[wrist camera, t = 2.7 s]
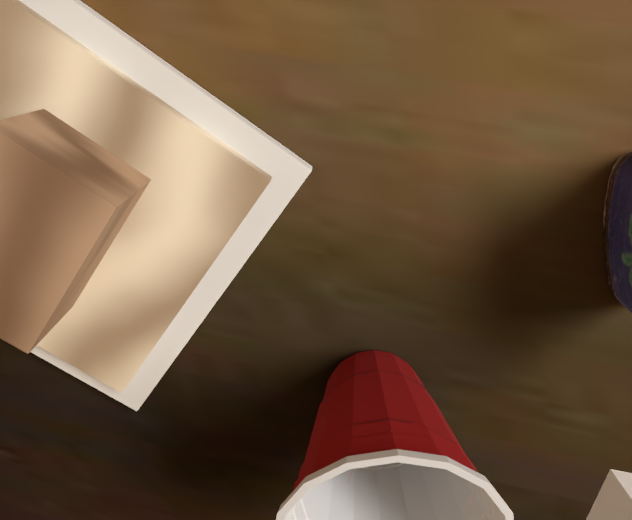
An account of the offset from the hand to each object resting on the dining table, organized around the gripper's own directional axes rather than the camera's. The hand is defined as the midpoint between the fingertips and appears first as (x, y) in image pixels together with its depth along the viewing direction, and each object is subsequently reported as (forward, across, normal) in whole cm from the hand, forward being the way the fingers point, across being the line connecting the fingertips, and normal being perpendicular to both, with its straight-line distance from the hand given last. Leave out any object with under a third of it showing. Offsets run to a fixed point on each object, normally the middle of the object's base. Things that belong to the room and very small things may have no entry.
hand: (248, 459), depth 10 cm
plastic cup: (+22, +7, -11) cm, 26 cm away
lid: (+21, -12, -3) cm, 24 cm away
